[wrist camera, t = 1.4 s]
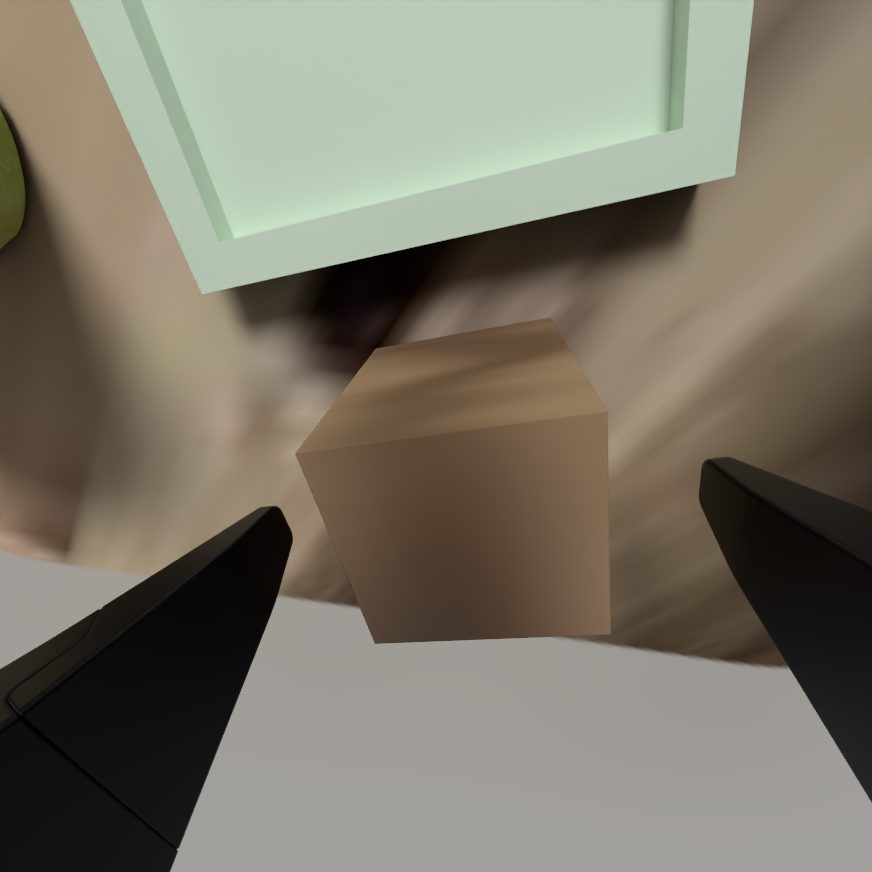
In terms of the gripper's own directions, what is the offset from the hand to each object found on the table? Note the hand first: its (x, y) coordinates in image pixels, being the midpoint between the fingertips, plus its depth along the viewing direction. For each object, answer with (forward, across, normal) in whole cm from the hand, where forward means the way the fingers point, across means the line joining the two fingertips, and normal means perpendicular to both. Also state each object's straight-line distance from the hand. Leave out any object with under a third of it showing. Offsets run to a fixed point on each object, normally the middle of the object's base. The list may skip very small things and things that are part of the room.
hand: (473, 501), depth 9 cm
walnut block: (+5, 0, 0) cm, 5 cm away
